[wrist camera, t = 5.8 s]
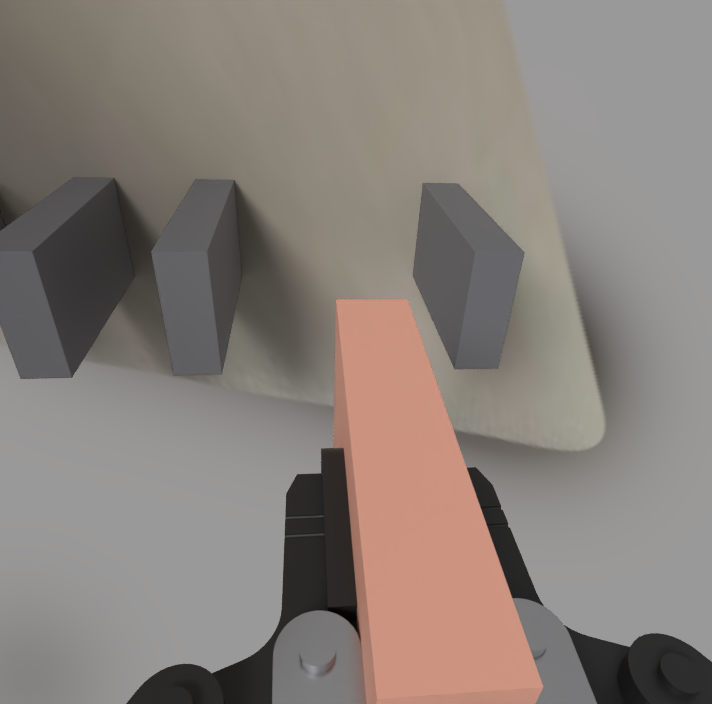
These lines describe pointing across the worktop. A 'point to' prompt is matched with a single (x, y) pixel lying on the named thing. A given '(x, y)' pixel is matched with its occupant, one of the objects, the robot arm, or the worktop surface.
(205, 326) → the domino
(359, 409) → the domino
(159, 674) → the robot arm
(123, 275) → the domino
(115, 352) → the worktop surface
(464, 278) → the domino
